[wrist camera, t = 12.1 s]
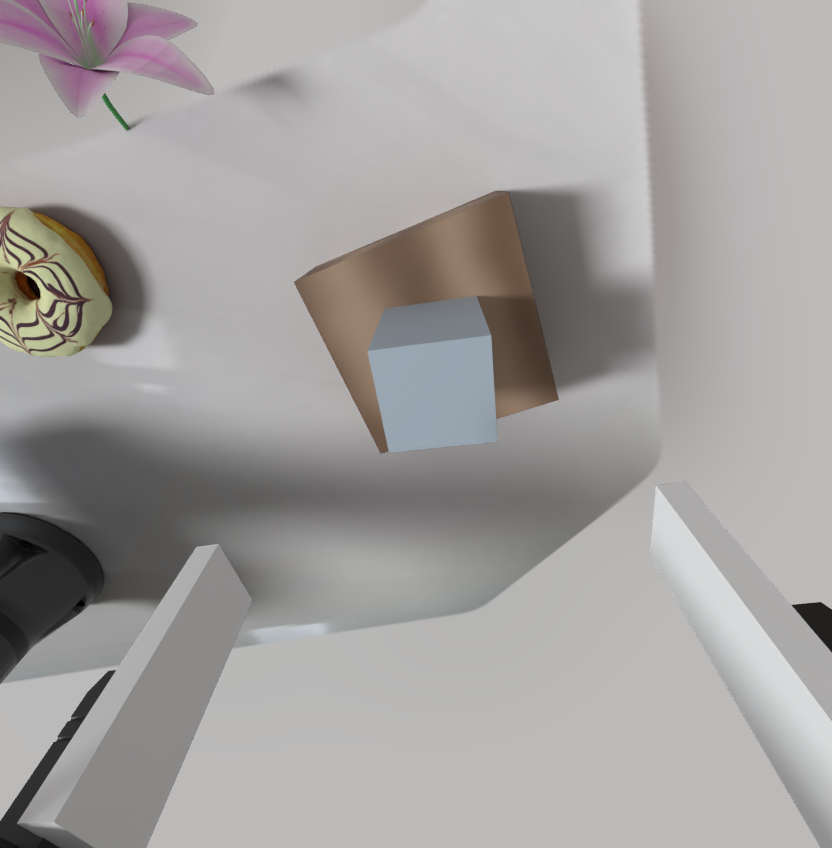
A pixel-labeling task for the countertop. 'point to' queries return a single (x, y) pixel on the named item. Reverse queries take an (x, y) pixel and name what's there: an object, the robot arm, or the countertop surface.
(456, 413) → the slate block
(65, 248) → the decorated donut
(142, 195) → the countertop surface
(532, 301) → the walnut block
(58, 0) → the lily
